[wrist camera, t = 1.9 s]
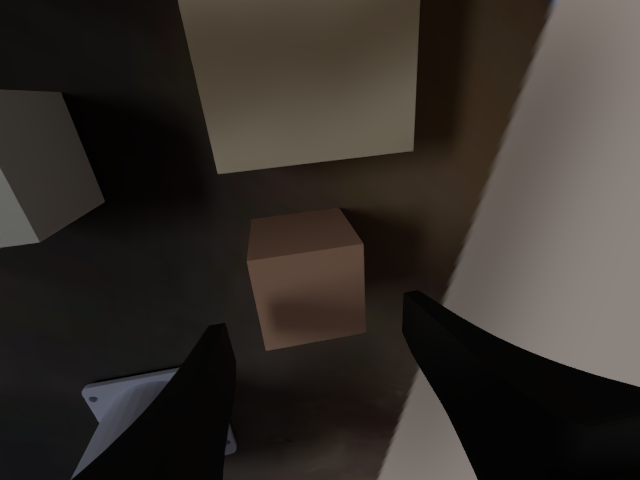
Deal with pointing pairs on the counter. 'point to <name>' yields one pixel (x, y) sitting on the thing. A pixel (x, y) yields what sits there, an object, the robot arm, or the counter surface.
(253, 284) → the terracotta cube
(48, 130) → the grey cube
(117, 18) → the counter surface
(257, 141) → the birch base block
